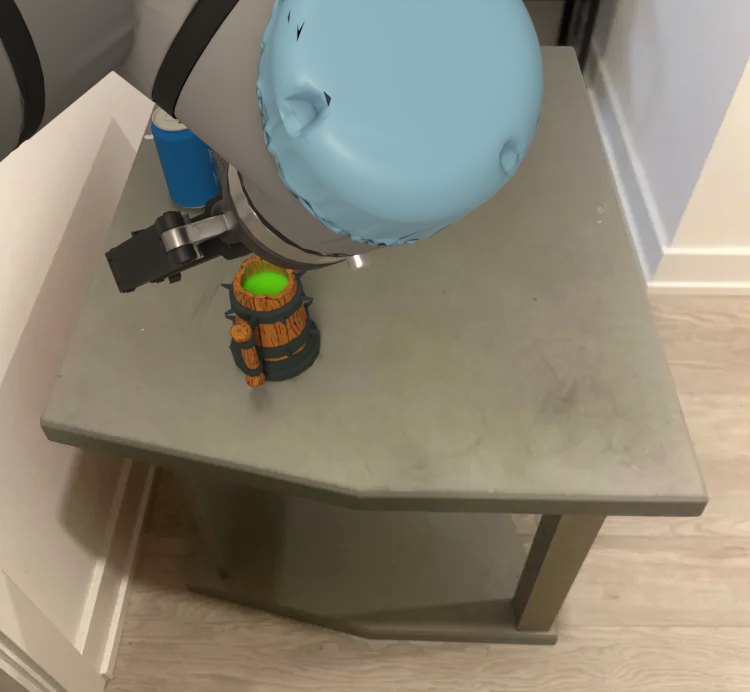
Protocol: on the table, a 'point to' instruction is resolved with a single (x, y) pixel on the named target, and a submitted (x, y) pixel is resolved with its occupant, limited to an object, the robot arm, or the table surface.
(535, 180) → the table surface
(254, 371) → the mug
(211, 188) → the beverage can
